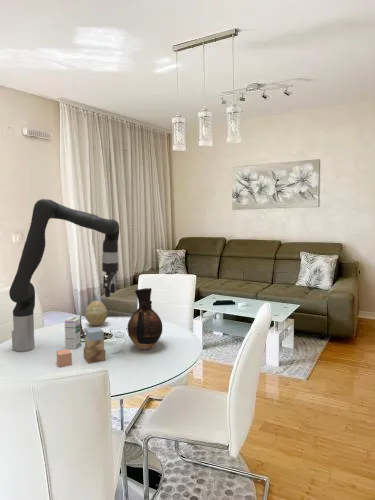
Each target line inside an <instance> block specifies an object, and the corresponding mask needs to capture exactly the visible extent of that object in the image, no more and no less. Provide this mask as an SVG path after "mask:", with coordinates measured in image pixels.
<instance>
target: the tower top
mask: <svg viewBox="0 0 375 500" xmlns="http://www.w3.org/2000/svg"><path fill="white" fill-rule="evenodd" d="M85 335H86V338H87V339H88V341H96V340H103V339H104V330H103V329H102V328H101V327H100V326H96V327H89V328H88V327H87V328H85Z"/></svg>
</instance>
